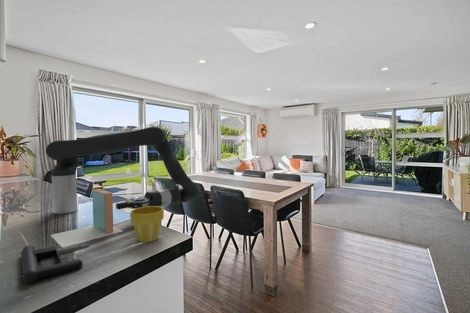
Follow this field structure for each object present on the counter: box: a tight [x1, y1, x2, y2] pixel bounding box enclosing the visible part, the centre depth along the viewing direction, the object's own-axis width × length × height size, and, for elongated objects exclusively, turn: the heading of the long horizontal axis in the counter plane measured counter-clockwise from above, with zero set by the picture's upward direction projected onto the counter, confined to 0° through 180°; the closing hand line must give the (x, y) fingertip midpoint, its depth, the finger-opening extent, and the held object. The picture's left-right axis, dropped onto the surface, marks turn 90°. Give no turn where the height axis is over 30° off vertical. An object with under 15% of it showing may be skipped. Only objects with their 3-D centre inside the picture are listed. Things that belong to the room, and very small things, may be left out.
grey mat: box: [50, 225, 123, 248], centre depth 82 cm, size 15×18×1 cm
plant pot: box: [129, 206, 165, 243], centre depth 79 cm, size 10×10×10 cm
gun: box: [17, 242, 90, 284], centre depth 64 cm, size 3×20×16 cm
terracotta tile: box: [91, 188, 114, 234], centre depth 86 cm, size 12×3×14 cm, turn 49°
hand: (116, 206), depth 89 cm, fingers closed
